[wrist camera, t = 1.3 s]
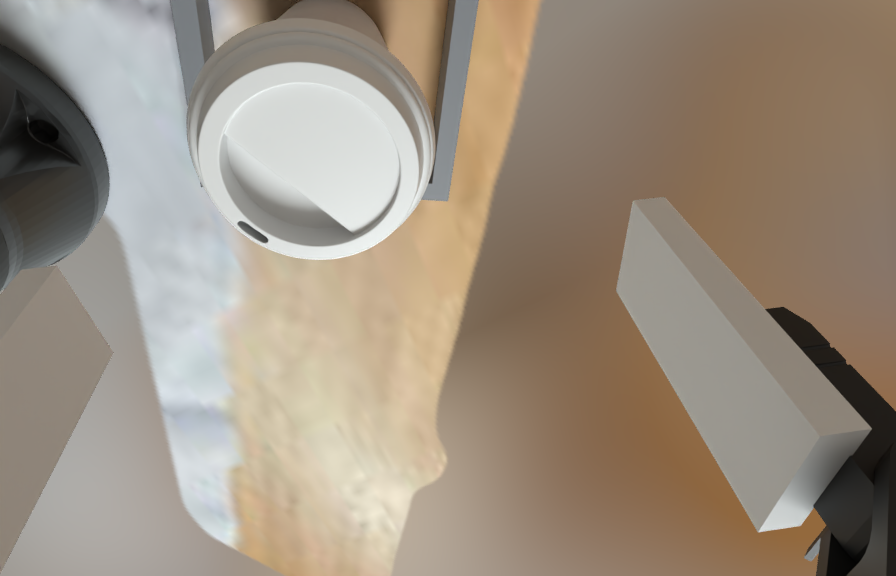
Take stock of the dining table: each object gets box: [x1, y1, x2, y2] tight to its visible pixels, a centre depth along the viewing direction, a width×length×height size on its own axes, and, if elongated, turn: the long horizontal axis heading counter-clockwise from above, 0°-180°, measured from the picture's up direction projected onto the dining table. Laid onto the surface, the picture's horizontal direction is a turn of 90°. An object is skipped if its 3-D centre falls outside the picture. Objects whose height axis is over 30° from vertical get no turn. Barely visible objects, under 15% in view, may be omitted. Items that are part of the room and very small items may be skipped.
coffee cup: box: [187, 0, 435, 260], centre depth 25 cm, size 10×10×15 cm
